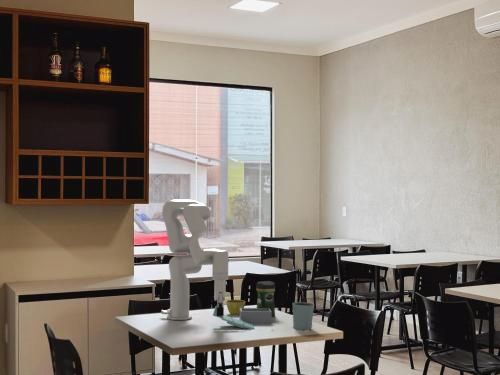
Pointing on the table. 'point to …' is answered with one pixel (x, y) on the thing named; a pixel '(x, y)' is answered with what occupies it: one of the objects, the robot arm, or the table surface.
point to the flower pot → (235, 306)
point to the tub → (256, 315)
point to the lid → (234, 321)
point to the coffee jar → (266, 295)
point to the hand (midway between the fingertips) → (220, 315)
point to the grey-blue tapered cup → (302, 315)
